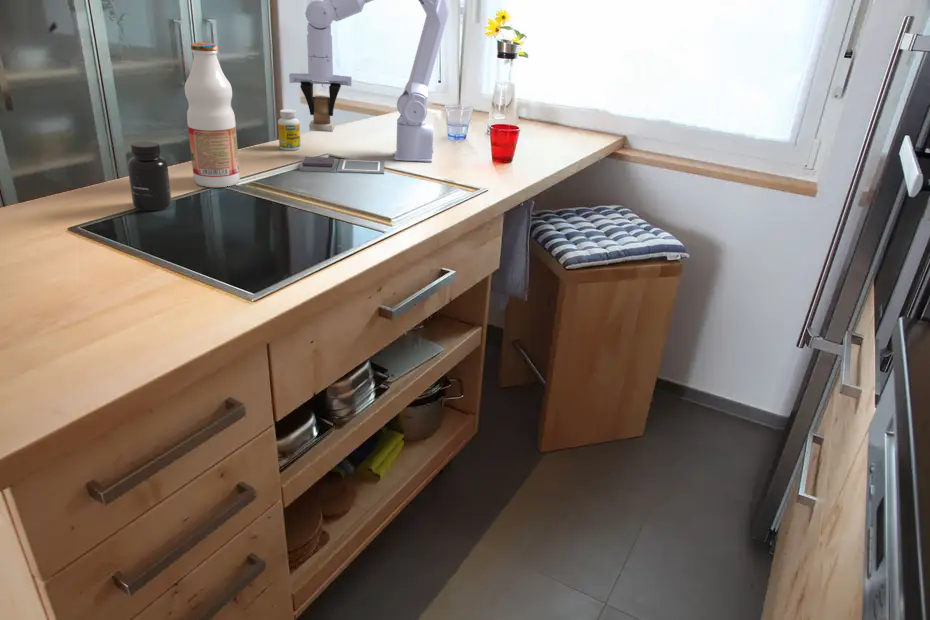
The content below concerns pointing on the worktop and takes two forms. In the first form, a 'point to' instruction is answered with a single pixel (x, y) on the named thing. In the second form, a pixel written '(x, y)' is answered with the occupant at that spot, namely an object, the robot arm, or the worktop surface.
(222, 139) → the fruit juice
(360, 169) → the slate mat
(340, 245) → the worktop surface
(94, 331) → the worktop surface
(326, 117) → the stamp
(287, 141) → the supplement bottle
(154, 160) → the supplement bottle
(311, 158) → the ink pad
